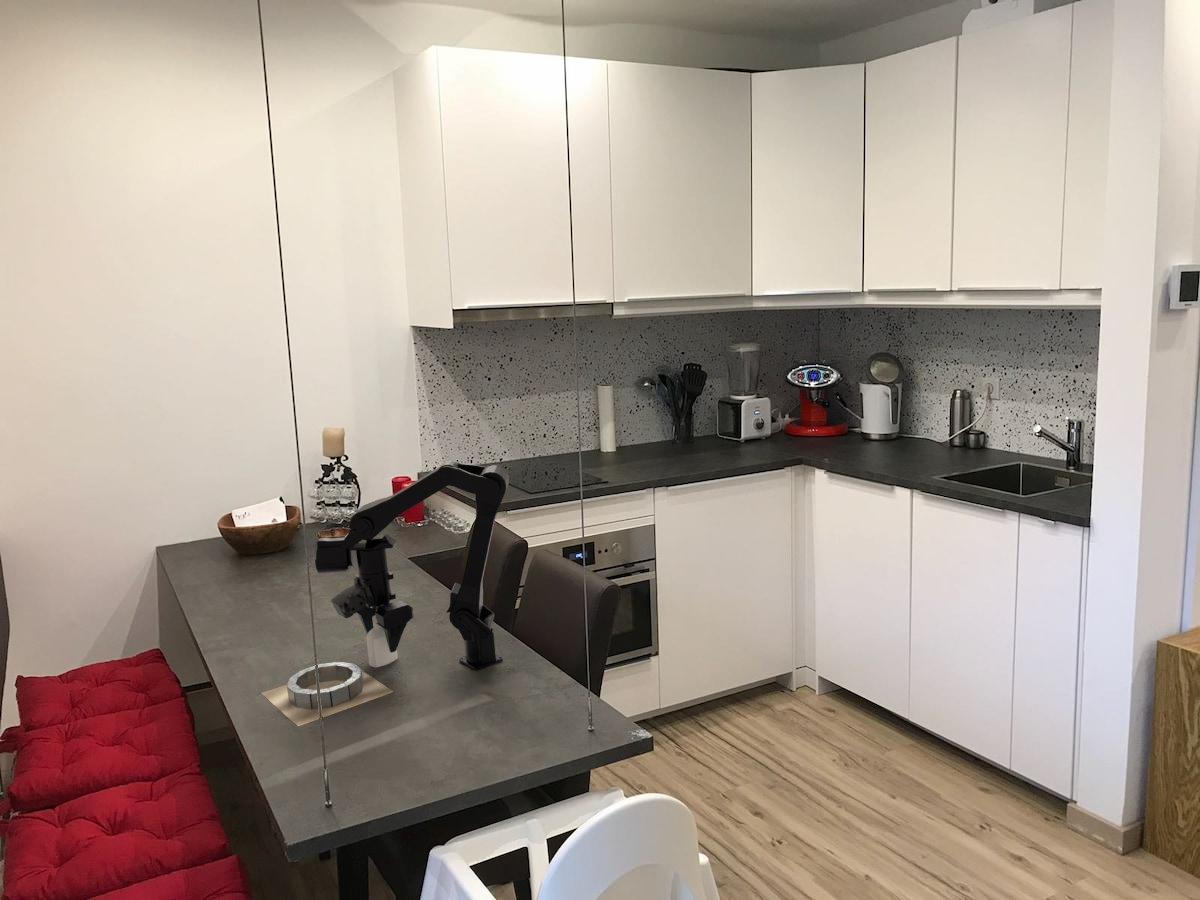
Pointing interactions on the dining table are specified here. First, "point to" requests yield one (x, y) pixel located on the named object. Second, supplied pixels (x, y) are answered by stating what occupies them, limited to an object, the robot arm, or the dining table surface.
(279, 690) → the birch board
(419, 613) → the dining table surface
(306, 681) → the steel collar
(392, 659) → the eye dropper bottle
